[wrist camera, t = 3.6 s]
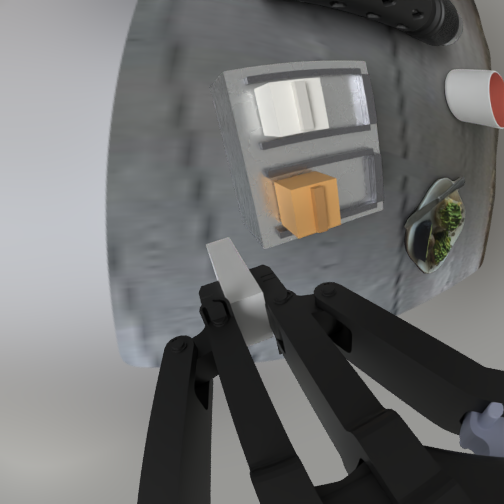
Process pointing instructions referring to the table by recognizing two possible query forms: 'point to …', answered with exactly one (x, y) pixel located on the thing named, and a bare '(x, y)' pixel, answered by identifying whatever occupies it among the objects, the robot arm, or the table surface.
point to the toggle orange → (308, 203)
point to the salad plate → (435, 225)
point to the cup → (476, 96)
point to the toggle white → (291, 107)
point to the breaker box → (300, 143)
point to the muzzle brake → (408, 17)
